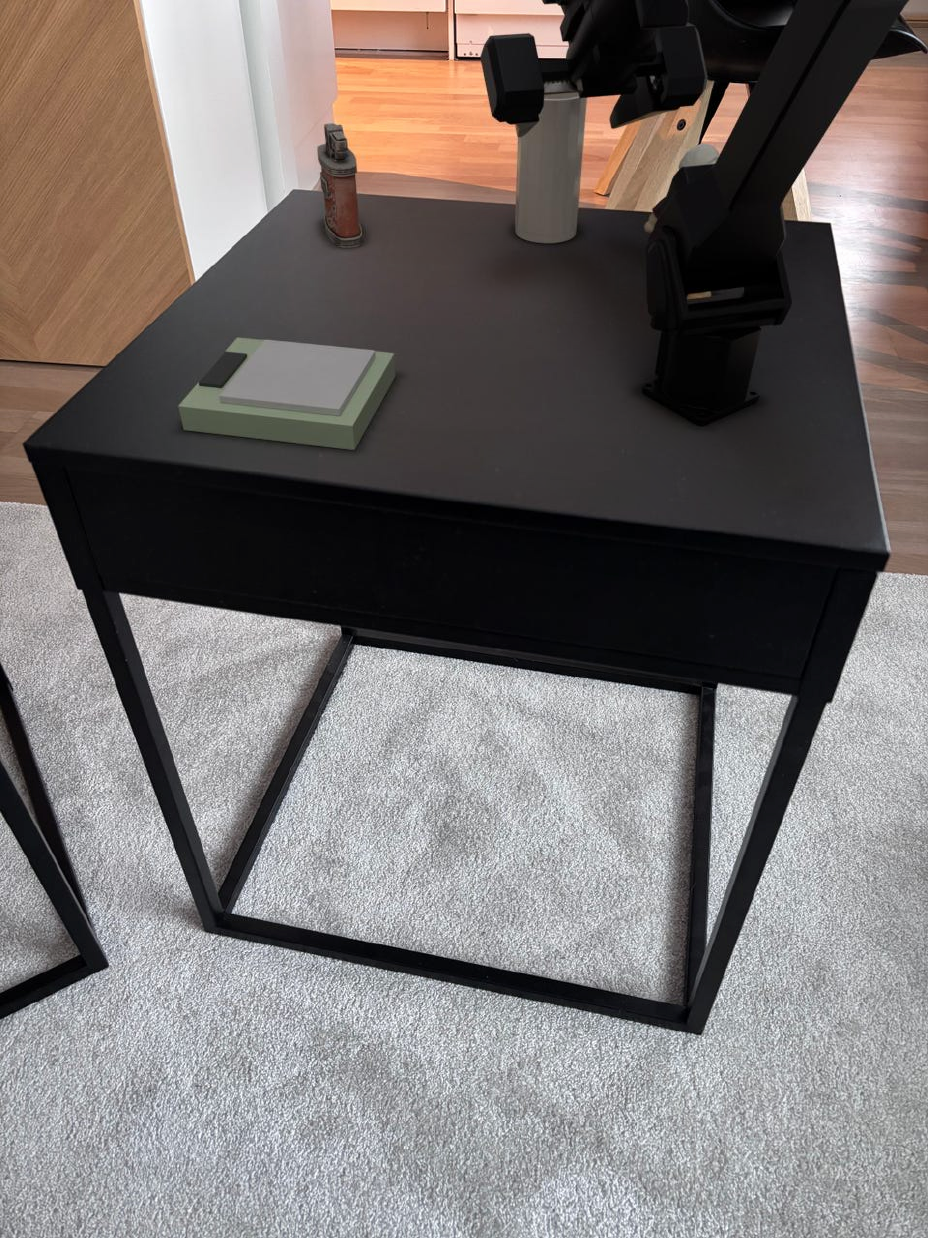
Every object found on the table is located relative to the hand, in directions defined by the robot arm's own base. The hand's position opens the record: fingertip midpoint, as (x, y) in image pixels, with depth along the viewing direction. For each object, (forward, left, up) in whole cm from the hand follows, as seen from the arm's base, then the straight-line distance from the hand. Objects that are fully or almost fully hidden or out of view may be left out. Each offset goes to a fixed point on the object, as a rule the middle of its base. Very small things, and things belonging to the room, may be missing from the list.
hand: (565, 127), depth 87 cm
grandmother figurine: (-16, -1, -11) cm, 19 cm away
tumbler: (+3, -1, -11) cm, 11 cm away
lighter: (+15, +16, -11) cm, 25 cm away
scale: (-12, +36, -11) cm, 40 cm away
